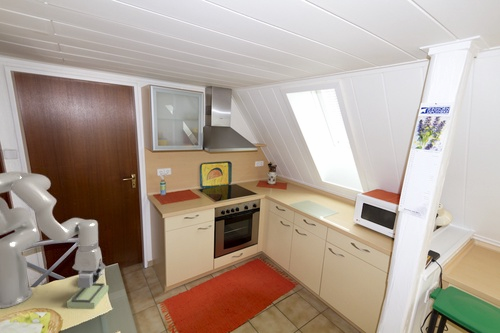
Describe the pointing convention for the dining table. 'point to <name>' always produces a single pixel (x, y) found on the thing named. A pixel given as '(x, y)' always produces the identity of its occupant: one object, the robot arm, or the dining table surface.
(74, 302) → the shallow green tray
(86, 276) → the grey small block
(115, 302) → the dining table surface
